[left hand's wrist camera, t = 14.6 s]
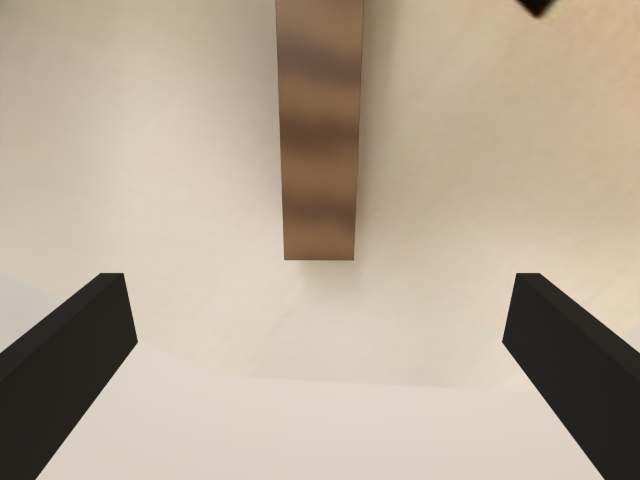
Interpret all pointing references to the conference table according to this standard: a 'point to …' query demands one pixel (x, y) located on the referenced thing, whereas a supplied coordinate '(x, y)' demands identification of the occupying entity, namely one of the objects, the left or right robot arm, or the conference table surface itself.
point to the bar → (319, 124)
